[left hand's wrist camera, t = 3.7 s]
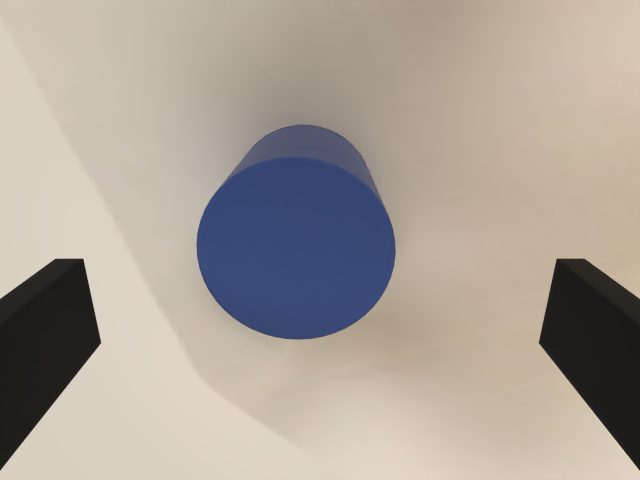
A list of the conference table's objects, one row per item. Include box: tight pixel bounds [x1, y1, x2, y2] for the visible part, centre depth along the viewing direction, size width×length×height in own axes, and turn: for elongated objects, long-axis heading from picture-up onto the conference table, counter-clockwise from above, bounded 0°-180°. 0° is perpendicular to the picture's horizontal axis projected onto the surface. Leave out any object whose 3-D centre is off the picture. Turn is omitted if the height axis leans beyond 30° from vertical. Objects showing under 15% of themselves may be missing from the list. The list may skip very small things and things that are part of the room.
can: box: [197, 125, 395, 339], centre depth 20 cm, size 7×7×8 cm
